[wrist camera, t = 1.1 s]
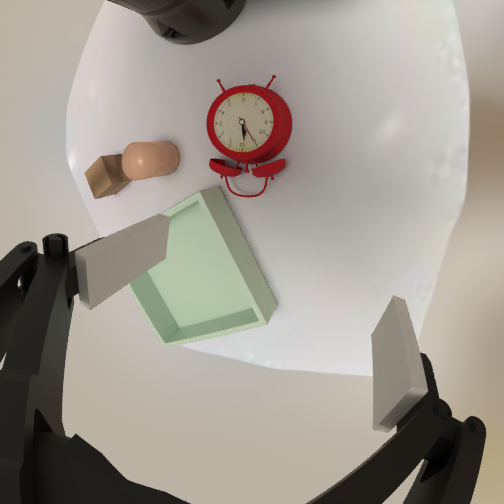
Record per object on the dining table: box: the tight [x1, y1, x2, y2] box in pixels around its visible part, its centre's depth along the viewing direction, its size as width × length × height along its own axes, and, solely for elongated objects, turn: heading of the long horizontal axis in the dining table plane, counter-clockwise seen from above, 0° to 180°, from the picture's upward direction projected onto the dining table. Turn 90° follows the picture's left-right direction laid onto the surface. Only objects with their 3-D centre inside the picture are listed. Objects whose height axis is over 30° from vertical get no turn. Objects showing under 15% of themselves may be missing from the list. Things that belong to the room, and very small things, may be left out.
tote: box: [127, 186, 277, 348], centre depth 41 cm, size 19×20×6 cm
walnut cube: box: [85, 154, 132, 199], centre depth 40 cm, size 5×5×5 cm
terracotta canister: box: [122, 142, 180, 180], centre depth 36 cm, size 5×5×7 cm
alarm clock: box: [207, 75, 292, 197], centre depth 32 cm, size 10×6×15 cm
